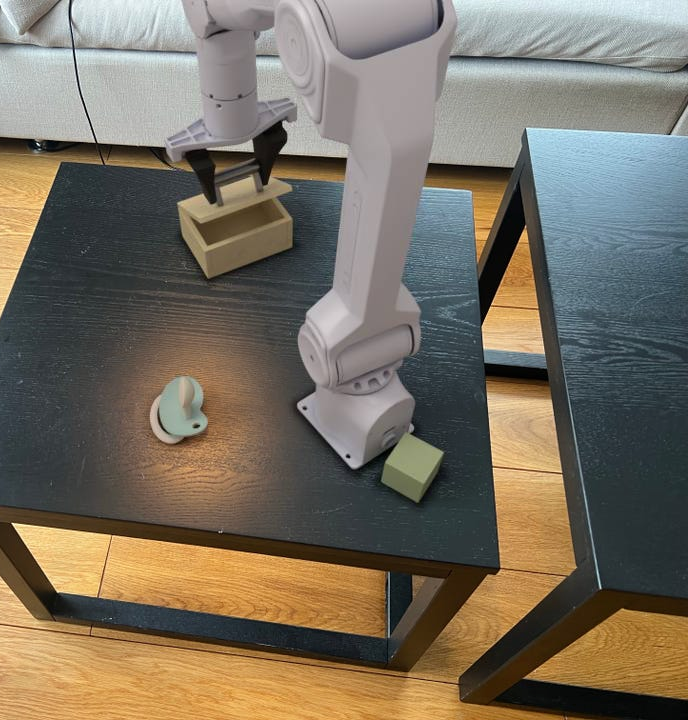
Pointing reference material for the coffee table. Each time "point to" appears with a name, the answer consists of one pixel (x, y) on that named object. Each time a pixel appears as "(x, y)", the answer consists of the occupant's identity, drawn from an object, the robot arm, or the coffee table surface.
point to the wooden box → (238, 236)
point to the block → (411, 467)
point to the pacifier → (178, 410)
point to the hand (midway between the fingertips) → (236, 189)
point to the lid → (234, 192)
